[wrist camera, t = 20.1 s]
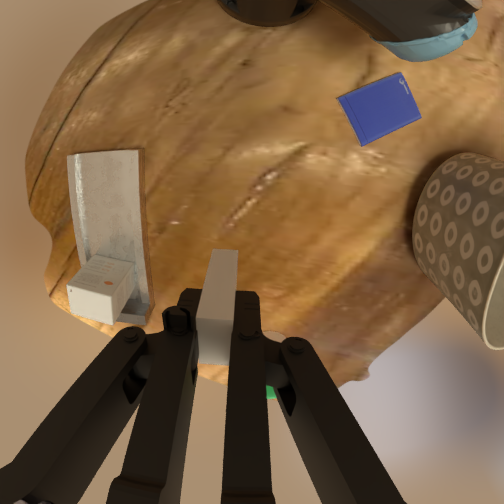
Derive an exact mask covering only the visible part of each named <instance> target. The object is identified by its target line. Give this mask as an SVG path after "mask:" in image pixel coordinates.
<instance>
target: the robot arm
mask: <svg viewBox="0 0 504 504" xmlns="http://www.w3.org/2000/svg"><path fill="white" fill-rule="evenodd" d="M316 1H317V0H218V2H219V4H220V5H221V7H222V8H223V9H224V10H225V11H226V12H227V13H228V14H230V15H231V16H232V17H234V18H236V19H238V20H240V21H242V22H245V23H248V24H252V25H256V26H265V27H274V26H282V25H287V24H290V23H293V22H296V21H298V20H300V19H301V18H303V17H304V16H306V15H307V14H308V13H309V12H310V11H311V10H312V8H313V7H314V5H315V3H316ZM318 1H320V2H322V3H323V4H325V5H327V6H328V7H330V8H331V9H333V10H335V11H336V12H338V13H339V14H341V15H342V16H344V17H345V18H347V19H348V20H350V21H351V22H352V23H354V24H355V25H357V26H358V27H359V28H361V29H362V30H364V31H365V32H366V33H368V34H369V36H370V38H371V39H373V40H374V41H375V42H377V43H380V44H382V45H383V46H384V47H386V48H387V49H388V50H390V51H391V52H392V53H393V54H395V55H396V56H397V57H399V58H401V59H404V60H408V61H411V62H423V61H429V60H433V59H436V58H439V57H442V56H444V55H446V54H448V53H450V52H452V51H454V50H456V49H457V48H459V47H460V46H462V45H463V41H465V40H468V39H470V38H471V37H472V36H473V34H474V33H475V31H476V28H477V19H476V17H475V13H474V12H476V11H477V10H479V9H480V8H482V0H318ZM237 263H238V250H225V249H213V251H212V255H211V258H210V262H209V266H208V270H207V274H206V278H205V282H204V286H203V289H192V288H186V289H185V290H184V291H183V292H182V293H181V295H180V298H179V301H178V303H177V306H172V307H168V308H167V309H165V310H164V311H163V313H162V318H163V325H164V330H163V331H161V332H159V333H153V334H146V333H145V332H144V330H143V329H141V328H139V327H134V326H132V327H126V328H124V329H122V330H120V331H119V332H118V333H117V334H116V335H115V336H114V338H113V339H112V340H111V341H110V342H109V343H108V344H107V345H106V347H105V348H104V349H103V350H102V351H101V352H100V353H99V355H98V356H97V357H96V358H95V359H94V360H93V362H92V363H91V364H90V365H89V366H88V367H87V368H86V370H85V371H84V372H83V373H82V374H81V375H80V377H79V378H78V379H77V380H76V381H75V383H74V384H73V385H72V386H71V387H70V389H69V390H68V391H67V392H66V394H65V395H64V396H63V397H62V398H61V399H60V401H59V402H58V403H57V404H56V406H55V407H54V408H53V409H52V410H51V412H50V413H49V414H48V416H47V417H46V418H45V419H44V421H43V422H42V423H41V424H40V426H39V427H38V428H37V430H36V431H35V432H34V433H33V435H32V436H31V437H30V439H29V440H28V441H27V442H26V444H25V445H24V446H23V448H22V449H21V450H20V452H19V453H18V454H17V456H16V457H15V458H14V460H13V461H12V462H11V463H9V464H8V465H6V466H4V467H3V468H1V469H0V504H77V503H78V502H79V500H80V499H81V497H82V496H83V494H84V492H85V491H86V489H87V487H88V486H89V484H90V483H91V481H92V479H93V478H94V476H95V474H96V472H97V471H98V469H99V468H100V466H101V465H102V463H103V461H104V459H105V458H106V456H107V455H108V453H109V452H110V450H111V448H112V446H113V445H114V443H115V442H116V440H117V439H118V437H119V436H120V434H121V432H122V431H123V429H124V427H125V426H126V424H127V423H128V421H129V419H130V418H131V416H132V415H133V413H134V411H135V410H136V408H137V407H138V405H139V404H140V405H139V408H138V412H137V415H136V419H135V422H134V426H133V429H132V433H131V436H130V440H129V444H128V448H127V451H126V455H125V459H124V463H123V468H122V471H121V474H120V475H119V476H118V477H116V478H114V480H113V481H112V483H111V485H110V488H109V493H108V497H107V501H106V504H180V496H181V488H182V479H183V471H184V463H185V455H186V448H187V441H188V434H189V427H190V420H191V413H192V406H193V400H194V393H195V387H196V381H197V375H198V368H197V363H198V358H199V363H201V364H214V365H229V374H228V391H227V405H226V424H225V439H224V458H223V477H222V494H221V504H276V503H275V498H274V495H273V493H272V481H271V462H270V445H269V444H270V443H269V425H268V408H267V390H266V385H267V386H271V387H273V390H274V392H275V395H276V397H277V400H278V402H279V405H280V407H281V409H282V412H283V414H284V417H285V419H286V422H287V424H288V427H289V429H290V431H291V434H292V436H293V438H294V441H295V443H296V445H297V448H298V450H299V453H300V455H301V457H302V460H303V462H304V464H305V466H306V469H307V471H308V473H309V475H310V477H311V480H312V482H313V484H314V487H315V489H316V491H317V493H318V496H319V498H320V500H321V502H322V504H407V503H406V502H404V500H403V498H402V497H401V495H400V493H399V492H398V490H397V488H396V486H395V485H394V483H393V481H392V480H391V478H390V476H389V474H388V473H387V471H386V469H385V468H384V466H383V464H382V463H381V461H380V459H379V458H378V456H377V454H376V453H375V451H374V449H373V447H372V446H371V444H370V442H369V441H368V439H367V437H366V436H365V434H364V432H363V431H362V429H361V427H360V426H359V424H358V422H357V421H356V419H355V417H354V416H353V414H352V412H351V410H350V409H349V407H348V405H347V404H346V402H345V400H344V399H343V397H342V395H341V394H340V392H339V390H338V389H337V387H336V385H335V384H334V382H333V380H332V379H331V377H330V375H329V374H328V372H327V370H326V369H325V367H324V365H323V364H322V362H321V360H320V359H319V357H318V355H317V354H316V352H315V350H314V349H313V347H312V345H311V344H310V343H309V342H308V341H307V340H305V339H303V338H300V337H289V338H286V339H284V340H283V341H282V343H281V342H277V341H274V340H271V339H269V338H267V337H266V336H265V335H264V334H263V333H262V330H261V318H260V301H259V296H258V295H257V294H256V292H254V291H236V284H237Z"/></svg>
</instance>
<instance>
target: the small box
mask: <svg viewBox="0 0 504 504" xmlns="http://www.w3.org/2000/svg"><path fill="white" fill-rule="evenodd" d="M133 290H134V263H132V262H127V261H122V260H118V259H113V258H109V257H104V256H99V255H94V256H93V257H92V258H91V259H90V260H89V261H88V262H87V263H86V264H85V265H84V266H83V267H82V268H81V269H80V270H79V271H78V272H77V273H76V274H75V276H74V277H73V278H72V279H71V280H70V281H69V282H68V283H67V292H68V298H69V304H70V310H71V313H72V314H75V315H78V316H81V317H85V318H88V319H92V320H95V321H99V322H102V323H106V324H109V325H114V324H115V322H116V320H117V318H118V316H119V315H120V313H121V311H122V309H123V308H124V306H125V304H126V302H127V300H128V299H129V297H130V295H131V293H132V292H133Z"/></svg>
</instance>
